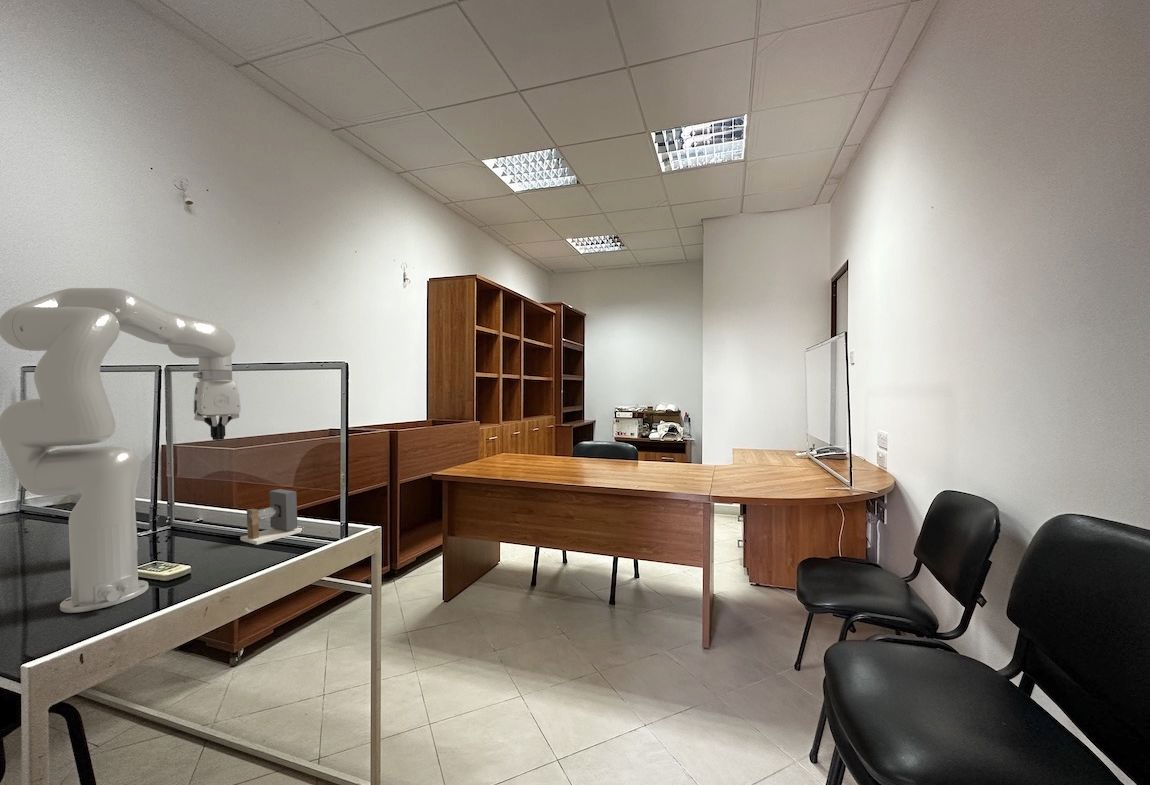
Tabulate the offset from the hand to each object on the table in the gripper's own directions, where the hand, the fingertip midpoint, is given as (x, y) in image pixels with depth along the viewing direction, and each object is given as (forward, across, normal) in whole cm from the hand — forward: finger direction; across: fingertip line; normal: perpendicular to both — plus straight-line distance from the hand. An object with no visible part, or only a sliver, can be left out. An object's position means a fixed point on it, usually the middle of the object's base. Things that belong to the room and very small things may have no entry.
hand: (218, 439), depth 130 cm
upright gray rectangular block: (+28, +11, -12) cm, 32 cm away
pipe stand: (+29, +8, -12) cm, 32 cm away
